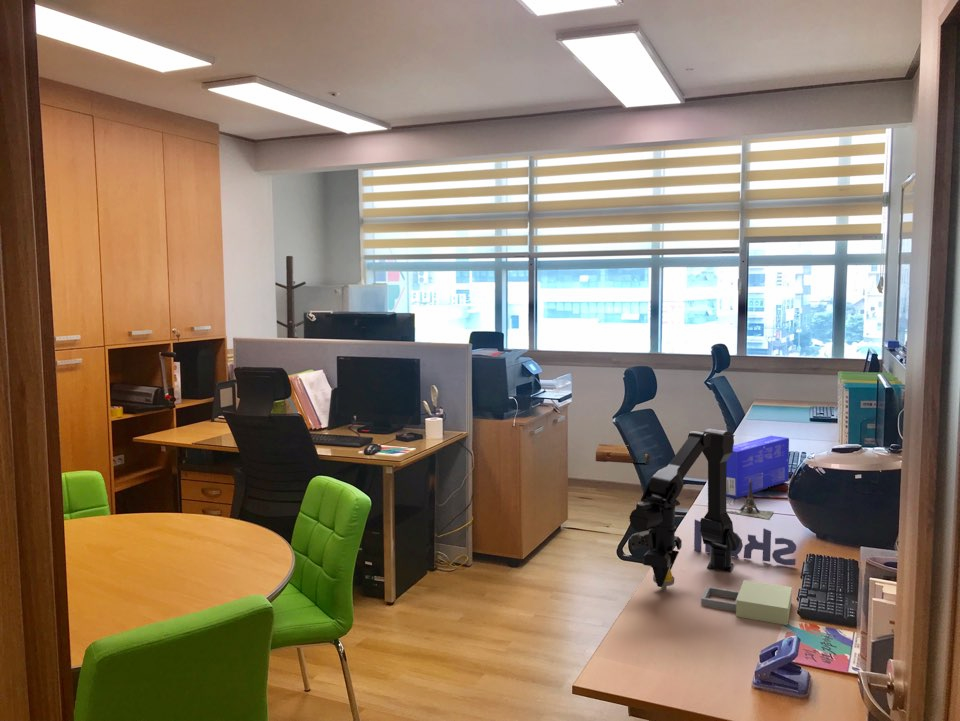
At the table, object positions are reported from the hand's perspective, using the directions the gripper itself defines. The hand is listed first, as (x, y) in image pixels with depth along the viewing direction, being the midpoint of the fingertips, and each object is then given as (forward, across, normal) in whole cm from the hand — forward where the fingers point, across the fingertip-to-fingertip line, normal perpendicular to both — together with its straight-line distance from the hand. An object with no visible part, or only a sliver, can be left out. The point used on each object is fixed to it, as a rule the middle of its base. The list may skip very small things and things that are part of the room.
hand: (662, 582), depth 194 cm
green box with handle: (+2, +1, +15) cm, 15 cm away
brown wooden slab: (+2, -146, -51) cm, 155 cm away
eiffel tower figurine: (+2, -84, +12) cm, 85 cm away
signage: (+2, -34, +16) cm, 38 cm away
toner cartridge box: (+1, -119, +10) cm, 120 cm away
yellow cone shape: (+2, 0, 0) cm, 2 cm away
